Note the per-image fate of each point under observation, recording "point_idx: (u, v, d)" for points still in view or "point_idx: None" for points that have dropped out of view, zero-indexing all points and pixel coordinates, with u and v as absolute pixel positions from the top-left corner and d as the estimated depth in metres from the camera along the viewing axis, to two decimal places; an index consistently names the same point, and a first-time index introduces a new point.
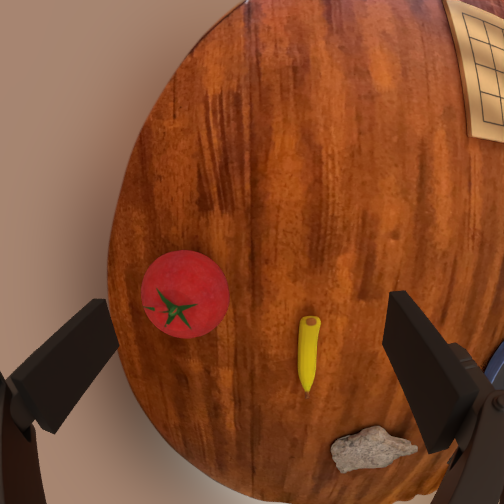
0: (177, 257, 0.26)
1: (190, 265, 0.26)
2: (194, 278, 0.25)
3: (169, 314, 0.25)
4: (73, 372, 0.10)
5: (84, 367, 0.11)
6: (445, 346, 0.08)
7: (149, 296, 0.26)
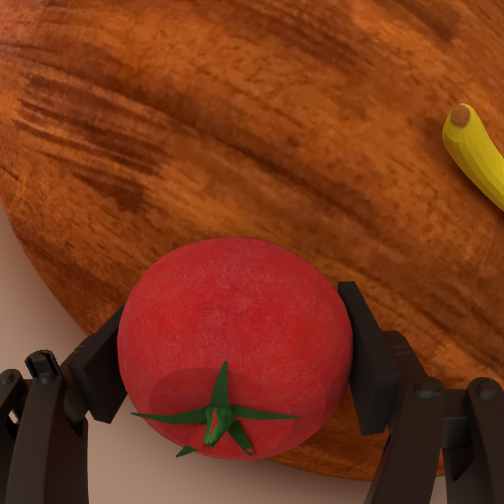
0: (122, 313, 0.09)
1: (140, 298, 0.08)
2: (162, 313, 0.08)
3: (206, 443, 0.07)
4: None
5: None
6: (377, 331, 0.09)
7: (161, 431, 0.08)
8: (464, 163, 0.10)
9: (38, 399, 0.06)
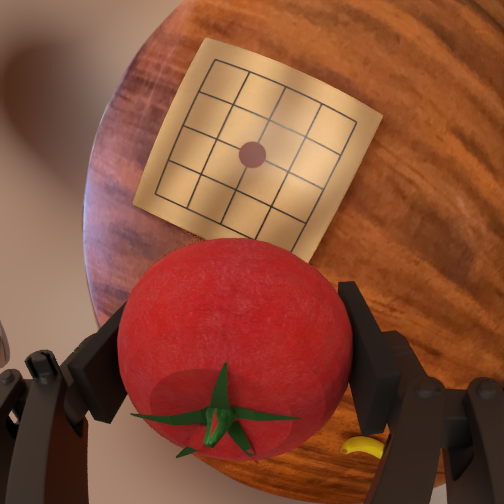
0: (123, 314, 0.09)
1: (140, 299, 0.08)
2: (161, 314, 0.08)
3: (206, 444, 0.07)
4: None
5: None
6: (377, 331, 0.09)
7: (161, 432, 0.08)
8: None
9: (38, 399, 0.06)
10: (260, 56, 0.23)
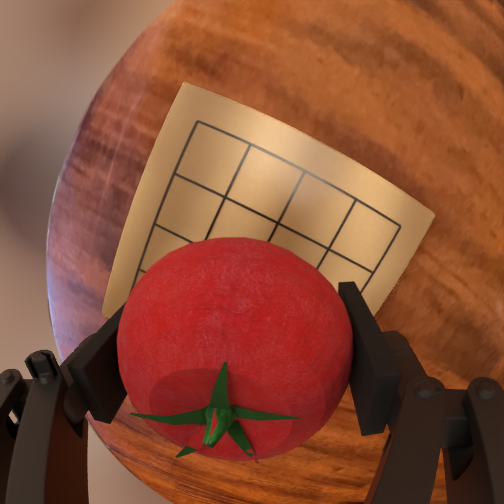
0: (122, 313, 0.09)
1: (139, 298, 0.08)
2: (161, 313, 0.08)
3: (206, 444, 0.07)
4: None
5: None
6: (377, 331, 0.09)
7: (160, 432, 0.08)
8: None
9: (38, 399, 0.06)
10: (267, 118, 0.16)
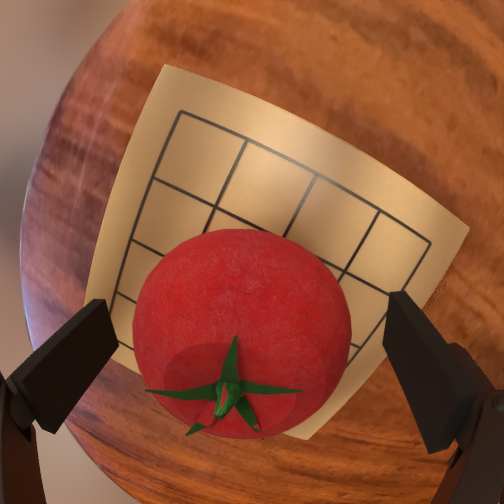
0: (138, 298, 0.10)
1: (156, 282, 0.09)
2: (178, 294, 0.09)
3: (216, 415, 0.08)
4: (74, 372, 0.10)
5: (84, 367, 0.11)
6: (445, 346, 0.08)
7: (172, 410, 0.09)
8: None
9: None
10: (269, 106, 0.12)
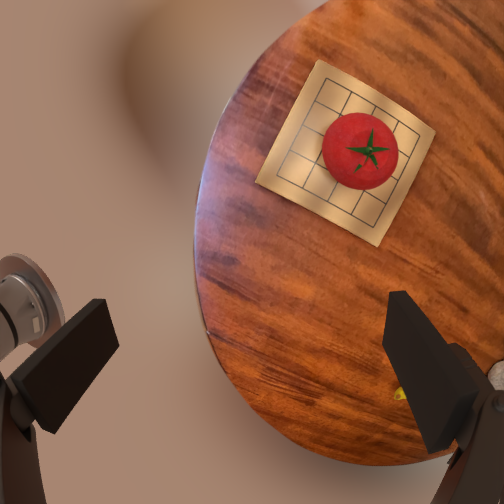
0: (330, 129, 0.29)
1: (342, 121, 0.28)
2: (353, 120, 0.27)
3: (370, 150, 0.26)
4: (73, 372, 0.10)
5: (84, 367, 0.11)
6: (445, 346, 0.08)
7: (348, 163, 0.28)
8: None
9: None
10: (358, 81, 0.31)
